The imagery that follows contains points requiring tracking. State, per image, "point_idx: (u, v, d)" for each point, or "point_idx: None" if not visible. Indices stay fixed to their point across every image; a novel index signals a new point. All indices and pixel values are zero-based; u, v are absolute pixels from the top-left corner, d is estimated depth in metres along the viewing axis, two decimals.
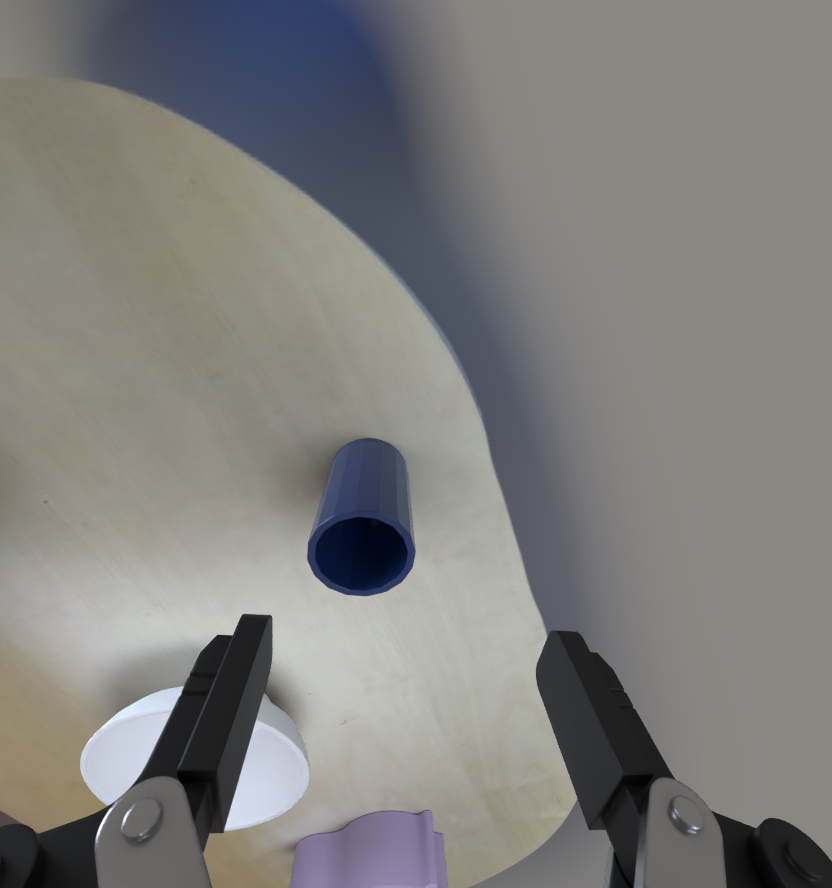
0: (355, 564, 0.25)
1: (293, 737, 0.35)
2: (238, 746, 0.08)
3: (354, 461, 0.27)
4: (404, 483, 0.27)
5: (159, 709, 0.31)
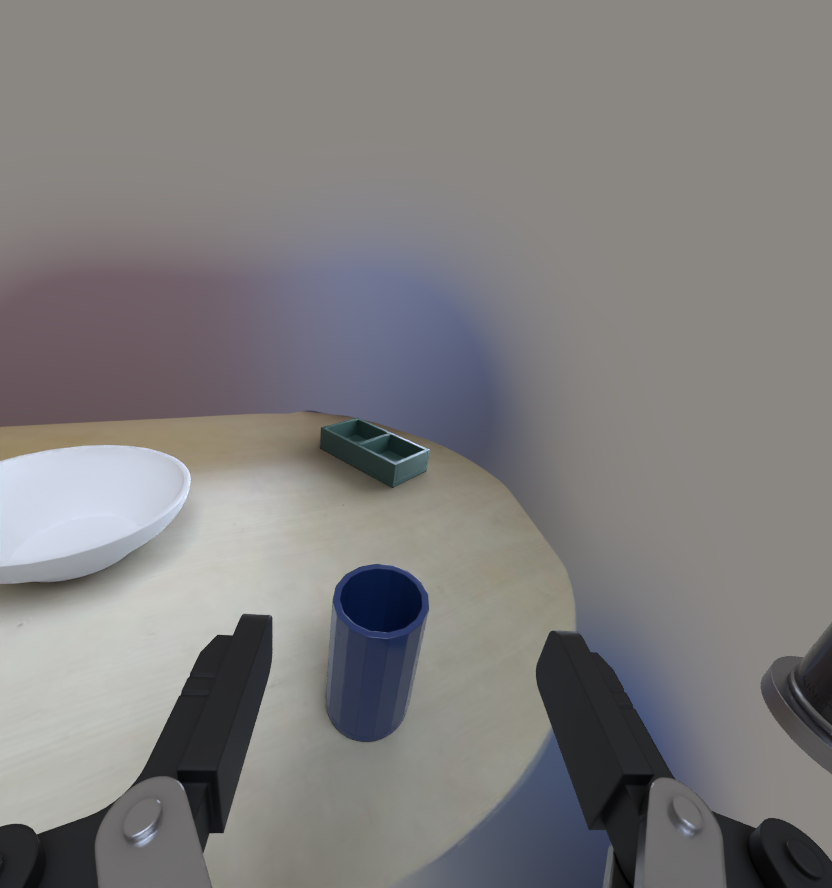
0: None
1: (54, 563, 0.29)
2: (238, 746, 0.08)
3: None
4: (399, 691, 0.25)
5: (187, 489, 0.38)
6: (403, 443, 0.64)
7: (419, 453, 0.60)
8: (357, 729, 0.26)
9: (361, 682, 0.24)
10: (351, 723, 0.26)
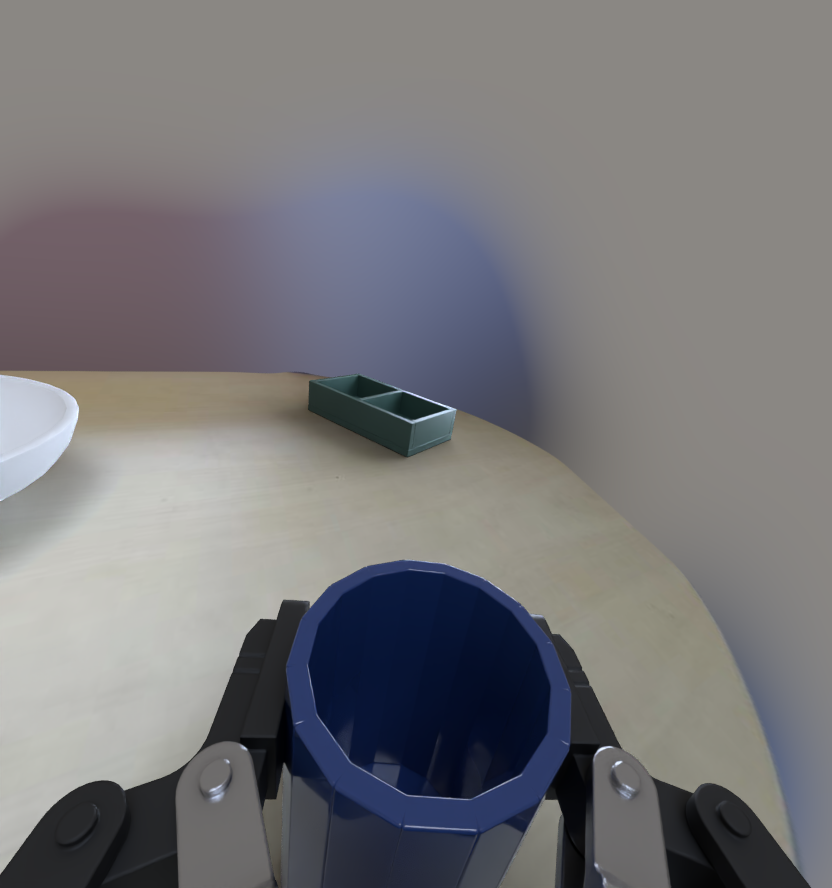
0: None
1: None
2: None
3: None
4: None
5: (60, 430, 0.22)
6: (419, 402, 0.48)
7: (443, 412, 0.44)
8: None
9: None
10: None
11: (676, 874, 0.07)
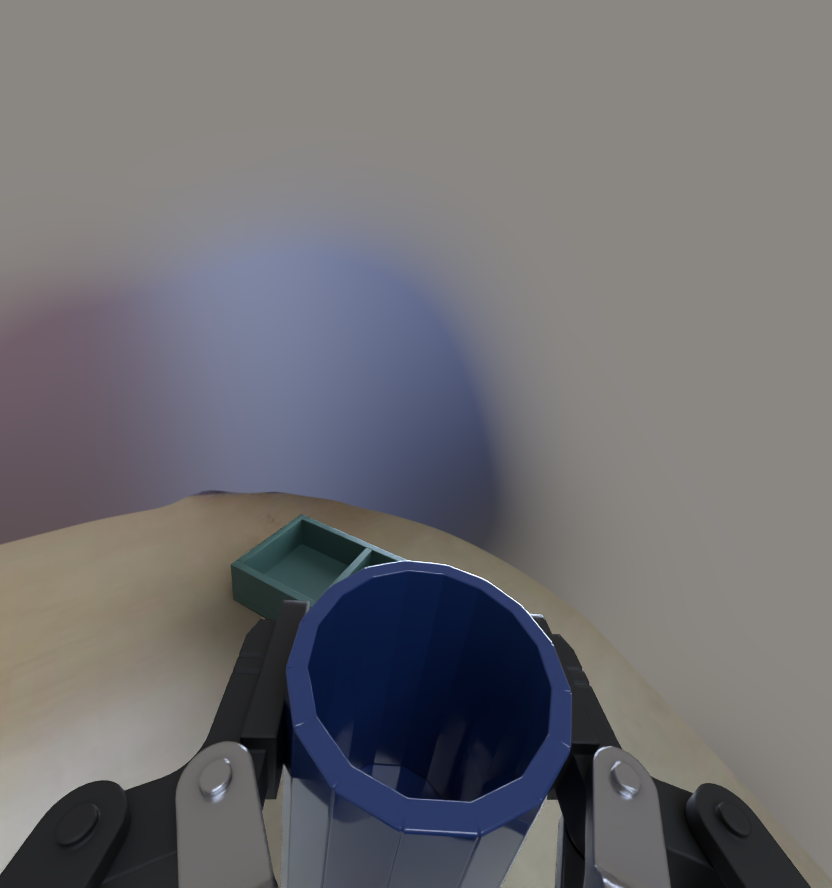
0: None
1: None
2: None
3: None
4: None
5: None
6: None
7: None
8: None
9: None
10: None
11: (676, 874, 0.07)
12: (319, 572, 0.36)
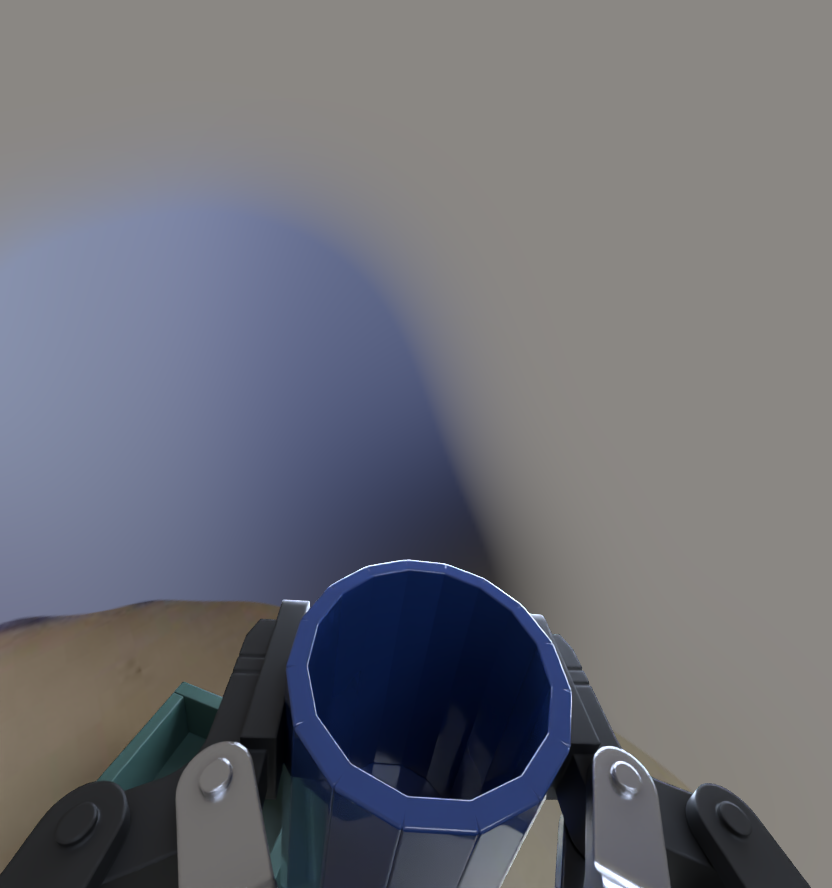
0: None
1: None
2: None
3: None
4: None
5: None
6: None
7: None
8: None
9: None
10: None
11: (676, 874, 0.07)
12: None
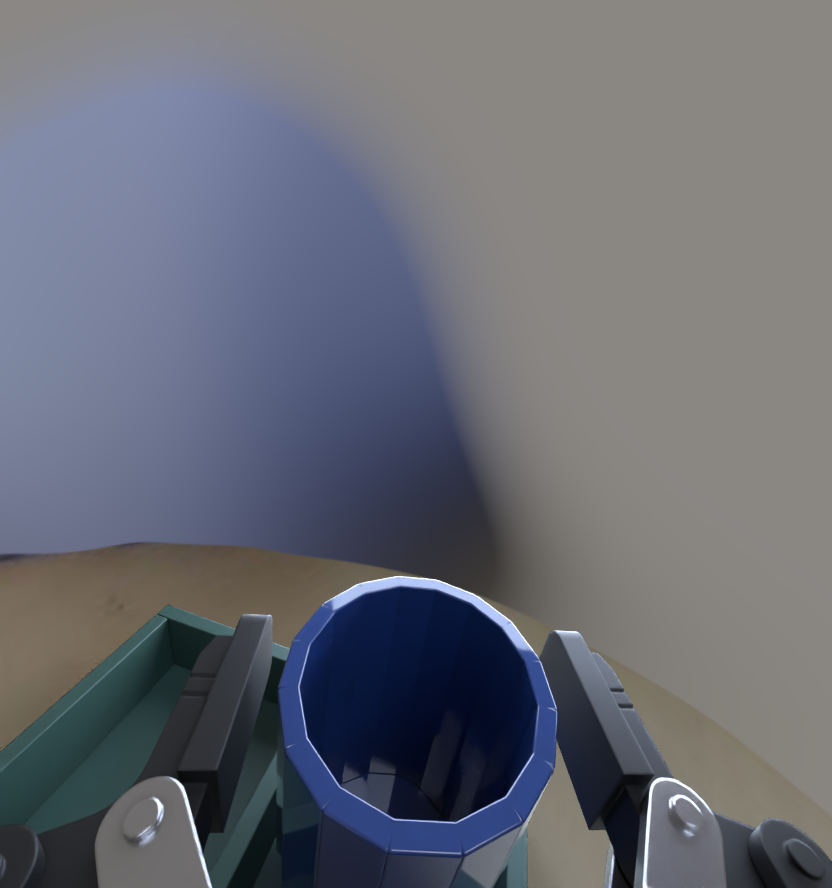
0: (305, 713, 0.10)
1: None
2: (238, 746, 0.08)
3: None
4: None
5: None
6: None
7: None
8: None
9: None
10: None
11: None
12: None
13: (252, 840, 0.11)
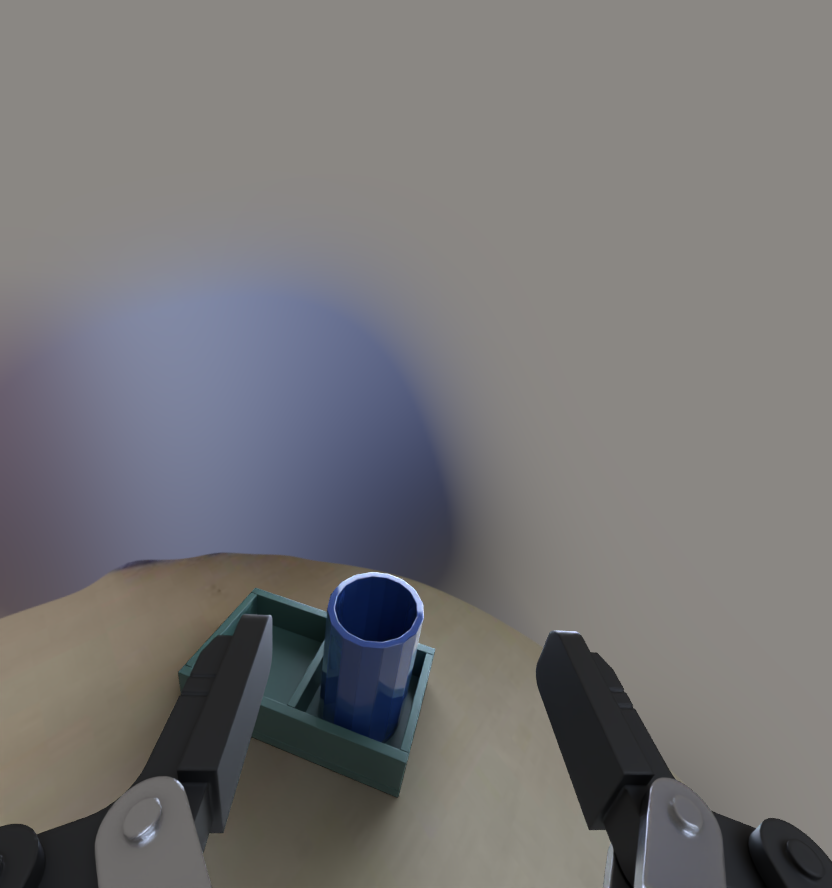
0: None
1: None
2: (238, 746, 0.08)
3: None
4: (393, 701, 0.25)
5: None
6: None
7: (425, 674, 0.29)
8: None
9: (355, 692, 0.24)
10: None
11: None
12: (282, 654, 0.32)
13: (310, 680, 0.27)
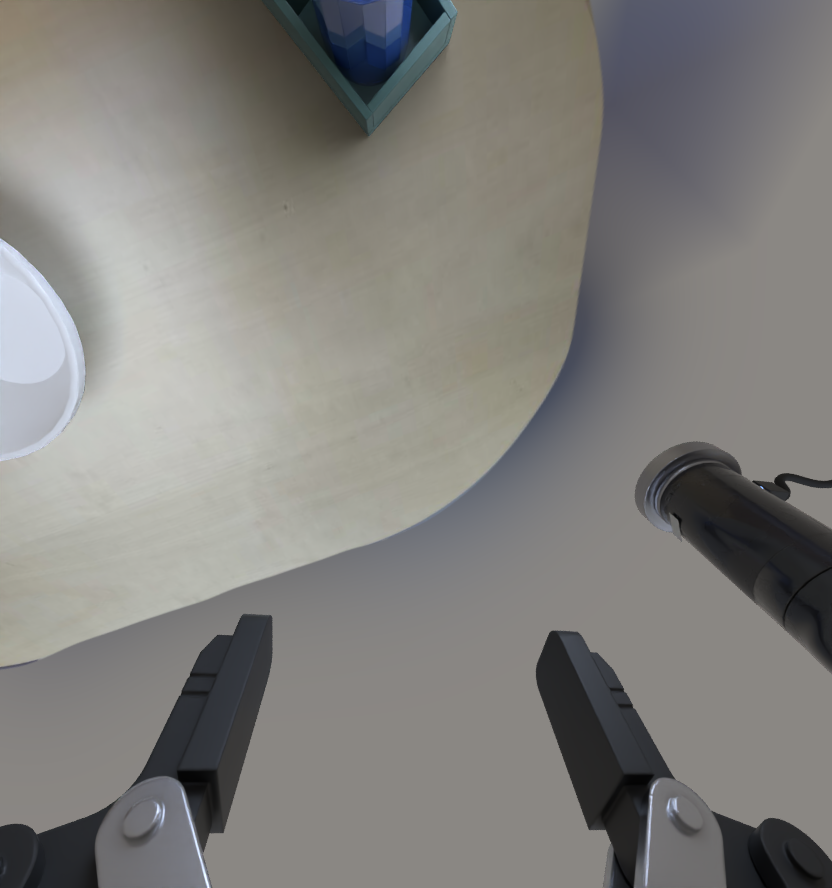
0: None
1: None
2: (238, 746, 0.08)
3: (411, 9, 0.24)
4: (370, 56, 0.25)
5: (63, 324, 0.28)
6: None
7: (427, 41, 0.26)
8: (337, 64, 0.27)
9: (327, 25, 0.23)
10: (331, 55, 0.27)
11: None
12: None
13: None
